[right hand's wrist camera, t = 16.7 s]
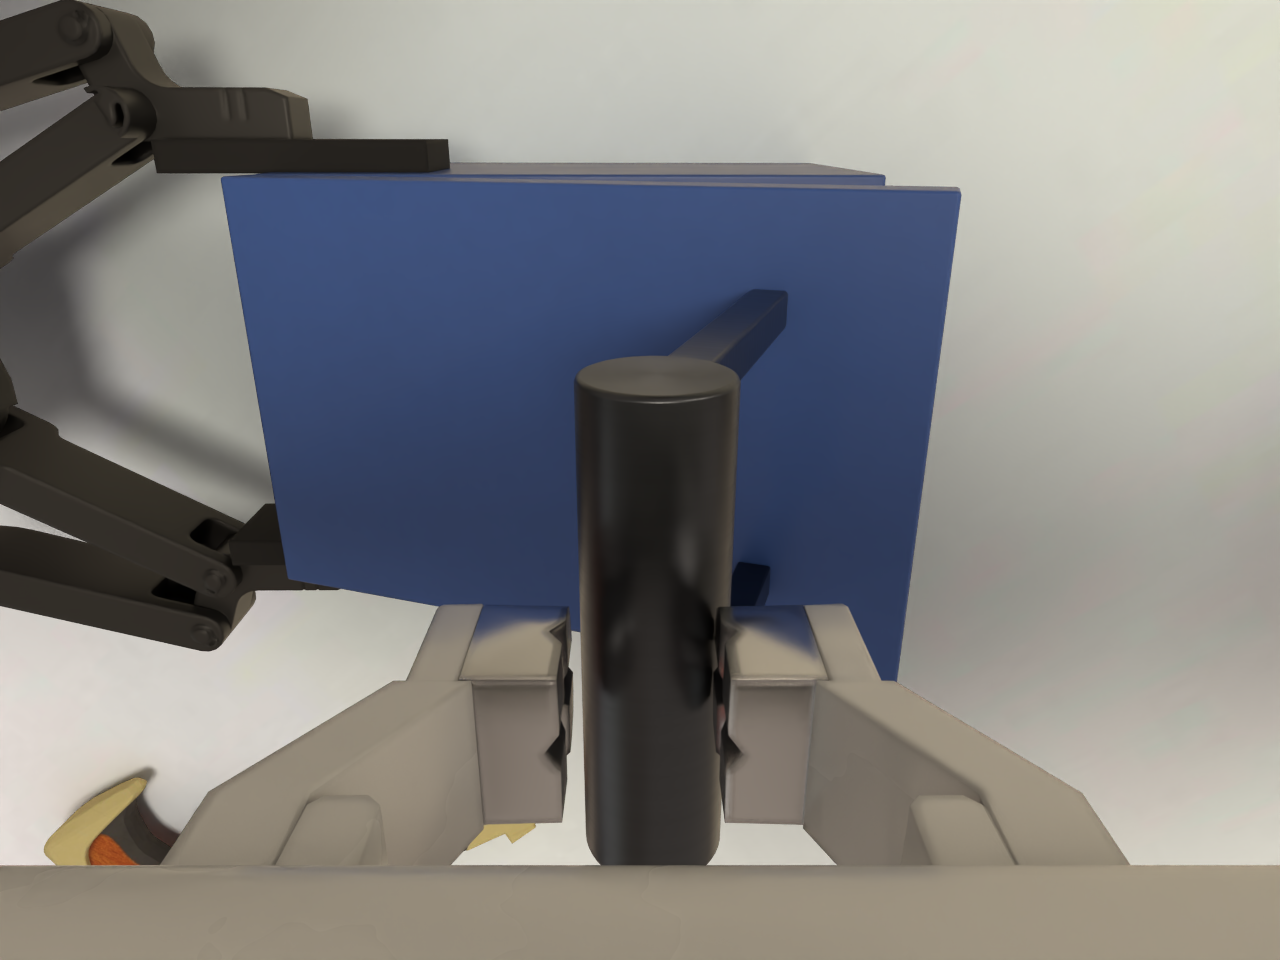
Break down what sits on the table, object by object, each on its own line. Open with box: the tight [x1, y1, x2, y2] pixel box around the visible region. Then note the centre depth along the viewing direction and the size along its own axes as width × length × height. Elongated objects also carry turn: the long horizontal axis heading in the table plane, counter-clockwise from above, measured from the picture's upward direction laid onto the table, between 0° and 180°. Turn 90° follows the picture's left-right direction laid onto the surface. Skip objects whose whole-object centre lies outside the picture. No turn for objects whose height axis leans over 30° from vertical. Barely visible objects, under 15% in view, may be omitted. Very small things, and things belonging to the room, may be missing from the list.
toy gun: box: [44, 778, 536, 865], centre depth 37 cm, size 3×19×10 cm
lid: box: [221, 174, 961, 865], centre depth 15 cm, size 15×10×9 cm, turn 90°
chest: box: [256, 163, 886, 186], centre depth 26 cm, size 15×10×9 cm
